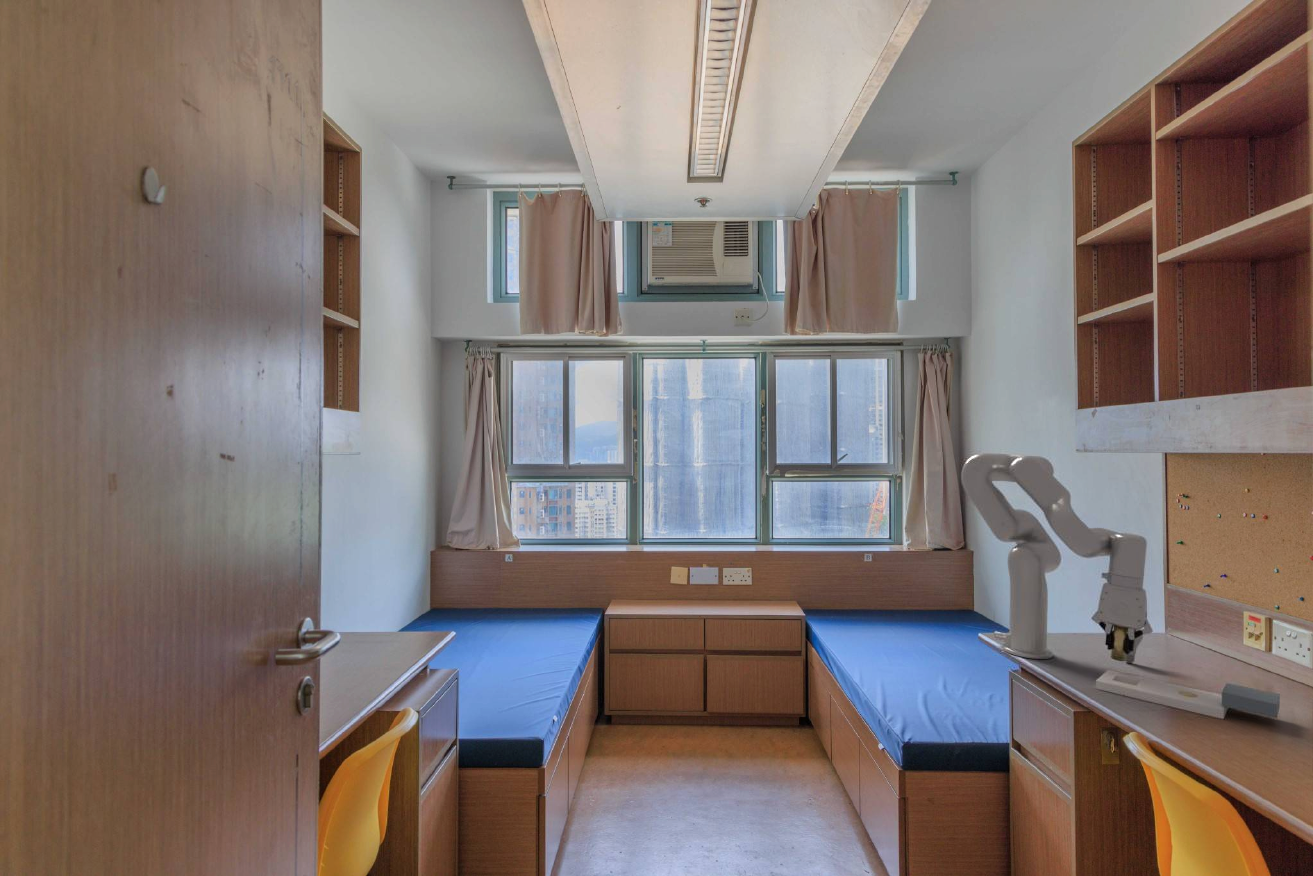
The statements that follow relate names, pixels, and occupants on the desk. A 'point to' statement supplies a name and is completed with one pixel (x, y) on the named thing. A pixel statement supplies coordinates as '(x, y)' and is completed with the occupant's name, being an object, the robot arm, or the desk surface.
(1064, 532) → the robot arm
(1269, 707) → the housing
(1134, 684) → the board
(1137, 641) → the lightbulb
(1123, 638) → the pin
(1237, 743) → the desk surface
